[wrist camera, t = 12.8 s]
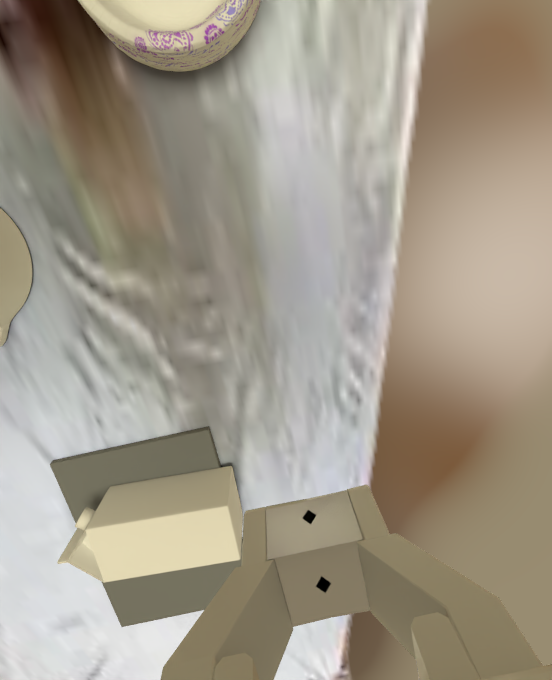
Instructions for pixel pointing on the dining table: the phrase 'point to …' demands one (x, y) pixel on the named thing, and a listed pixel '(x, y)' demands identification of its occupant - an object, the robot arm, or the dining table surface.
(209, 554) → the milk carton
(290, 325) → the dining table surface
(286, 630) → the robot arm
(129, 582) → the mat
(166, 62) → the paper bowls
